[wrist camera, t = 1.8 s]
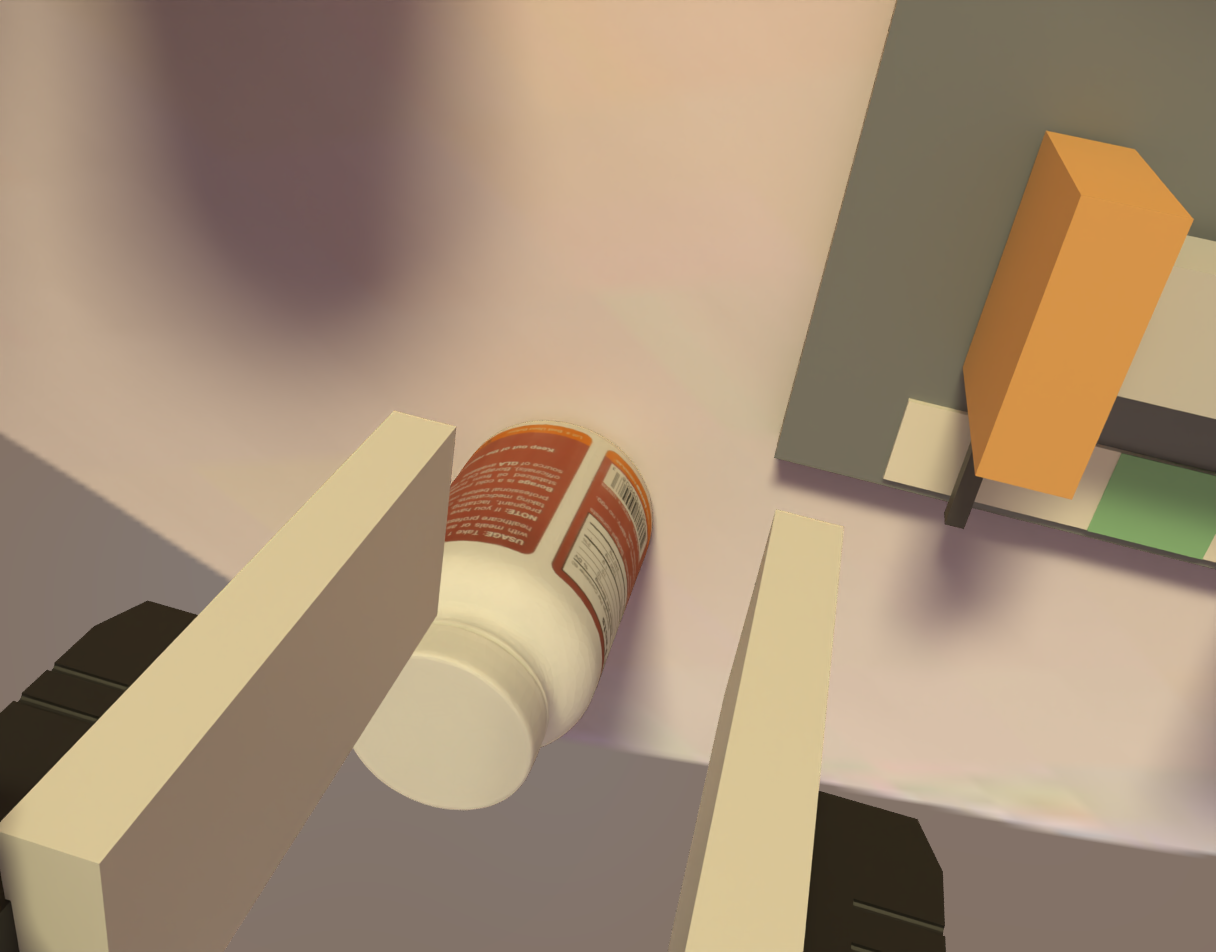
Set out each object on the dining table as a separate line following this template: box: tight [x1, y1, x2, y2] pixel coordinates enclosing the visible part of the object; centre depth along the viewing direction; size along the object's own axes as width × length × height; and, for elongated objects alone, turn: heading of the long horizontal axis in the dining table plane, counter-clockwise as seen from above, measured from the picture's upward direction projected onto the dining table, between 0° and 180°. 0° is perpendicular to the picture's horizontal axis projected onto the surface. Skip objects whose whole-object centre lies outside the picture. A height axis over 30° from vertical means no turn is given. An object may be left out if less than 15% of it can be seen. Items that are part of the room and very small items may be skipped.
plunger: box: [944, 131, 1216, 529], centre depth 25 cm, size 10×10×6 cm
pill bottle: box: [353, 421, 653, 810], centre depth 30 cm, size 6×6×11 cm
